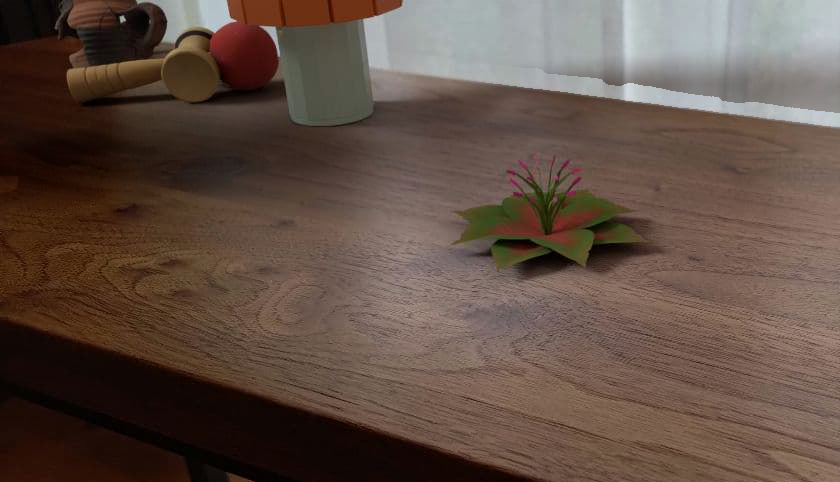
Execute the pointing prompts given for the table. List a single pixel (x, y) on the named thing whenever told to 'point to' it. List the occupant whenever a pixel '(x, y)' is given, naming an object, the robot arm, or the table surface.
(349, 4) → the ring
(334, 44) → the cup
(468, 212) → the lily flower
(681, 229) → the table surface
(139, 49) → the pottery mug
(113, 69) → the kendama
